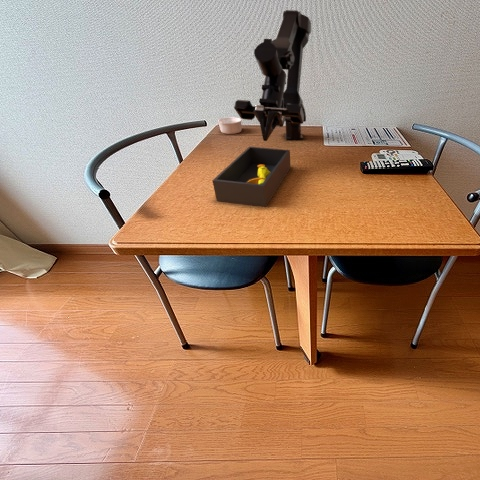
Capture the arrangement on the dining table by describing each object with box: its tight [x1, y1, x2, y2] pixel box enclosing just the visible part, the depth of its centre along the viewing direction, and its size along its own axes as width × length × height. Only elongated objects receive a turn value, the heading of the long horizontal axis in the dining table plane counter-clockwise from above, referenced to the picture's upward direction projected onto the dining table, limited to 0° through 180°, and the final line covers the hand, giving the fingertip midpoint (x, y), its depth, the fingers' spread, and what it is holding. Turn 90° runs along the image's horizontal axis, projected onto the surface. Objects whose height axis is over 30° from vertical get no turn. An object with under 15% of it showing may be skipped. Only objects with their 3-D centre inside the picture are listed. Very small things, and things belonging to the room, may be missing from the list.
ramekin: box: [217, 116, 243, 135], centre depth 112 cm, size 9×9×4 cm
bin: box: [212, 146, 291, 208], centre depth 76 cm, size 23×12×6 cm, turn 170°
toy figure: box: [247, 165, 271, 184], centre depth 76 cm, size 7×4×12 cm
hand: (264, 140), depth 79 cm, fingers closed
